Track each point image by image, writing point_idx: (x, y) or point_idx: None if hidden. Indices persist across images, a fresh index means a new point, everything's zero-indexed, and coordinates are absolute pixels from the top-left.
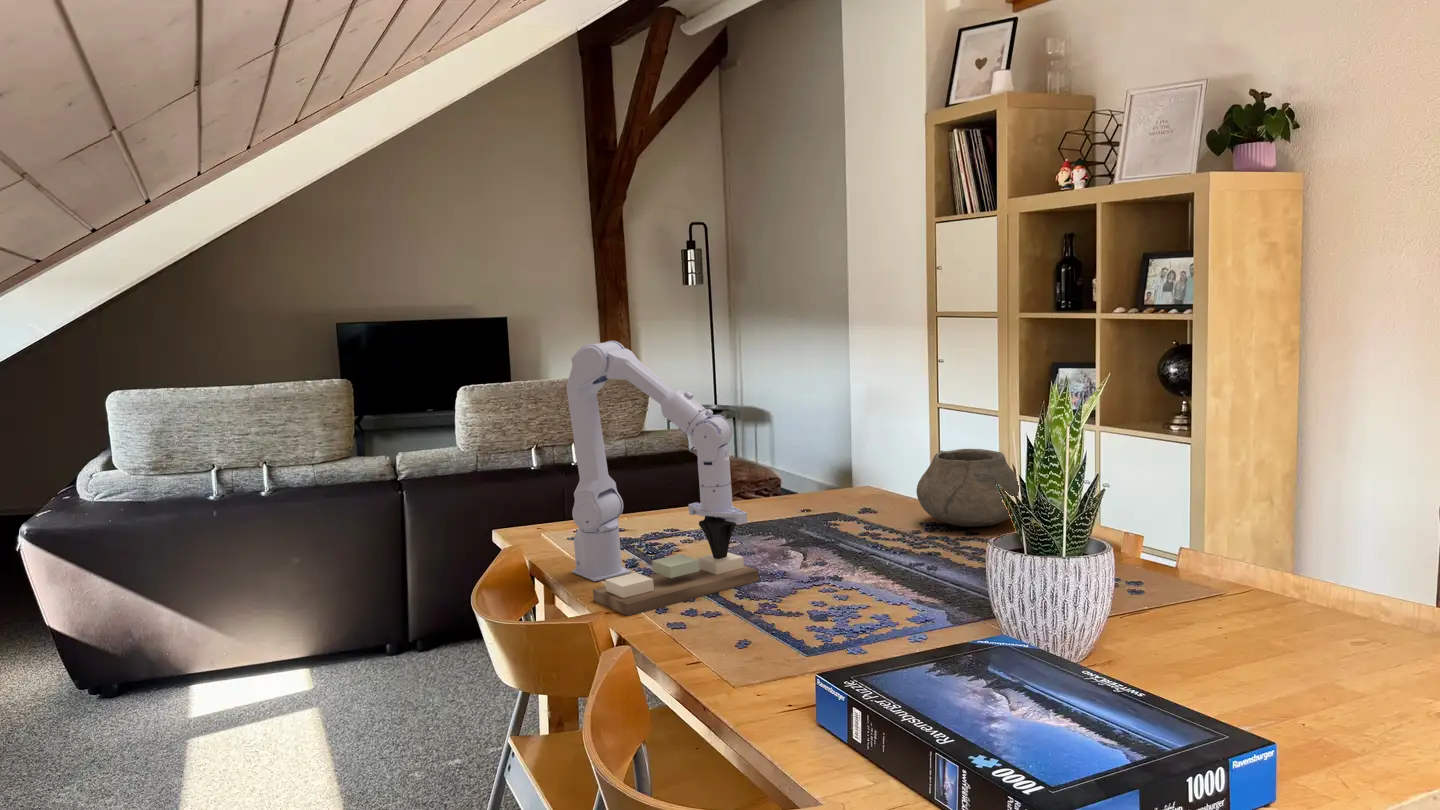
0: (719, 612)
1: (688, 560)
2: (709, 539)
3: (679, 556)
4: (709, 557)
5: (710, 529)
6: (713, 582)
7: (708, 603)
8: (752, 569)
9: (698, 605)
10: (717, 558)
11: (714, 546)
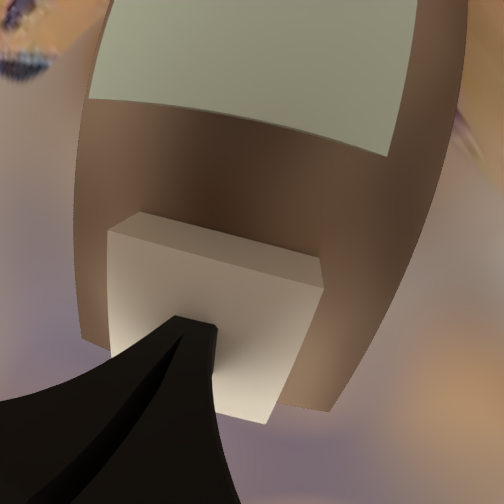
0: (10, 28)
1: (144, 30)
2: (174, 405)
3: (328, 76)
4: (249, 324)
5: (40, 447)
6: (83, 121)
7: (62, 37)
8: (98, 338)
9: (77, 4)
10: (176, 316)
11: (144, 357)
